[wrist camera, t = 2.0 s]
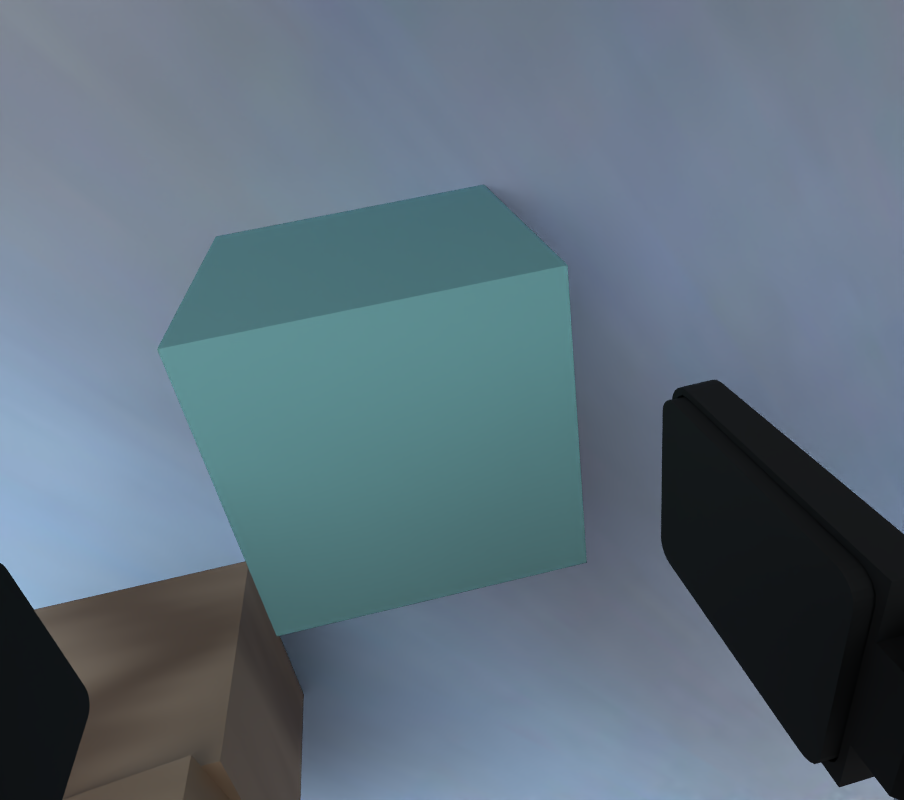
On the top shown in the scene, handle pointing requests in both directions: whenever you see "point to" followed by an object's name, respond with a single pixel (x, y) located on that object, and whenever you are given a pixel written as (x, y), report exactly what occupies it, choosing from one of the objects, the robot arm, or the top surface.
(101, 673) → the tower base
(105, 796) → the tower mid
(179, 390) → the teal block
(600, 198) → the top surface
